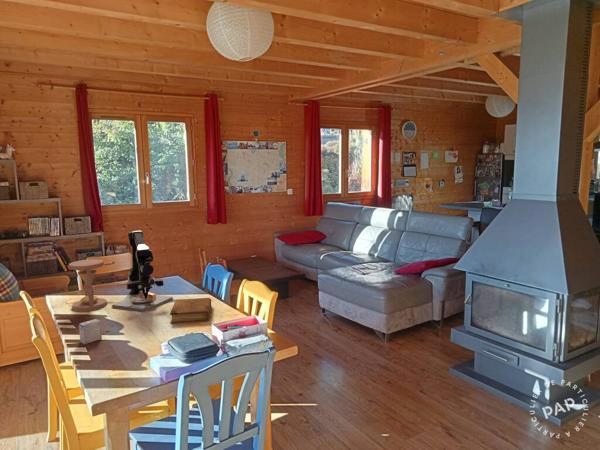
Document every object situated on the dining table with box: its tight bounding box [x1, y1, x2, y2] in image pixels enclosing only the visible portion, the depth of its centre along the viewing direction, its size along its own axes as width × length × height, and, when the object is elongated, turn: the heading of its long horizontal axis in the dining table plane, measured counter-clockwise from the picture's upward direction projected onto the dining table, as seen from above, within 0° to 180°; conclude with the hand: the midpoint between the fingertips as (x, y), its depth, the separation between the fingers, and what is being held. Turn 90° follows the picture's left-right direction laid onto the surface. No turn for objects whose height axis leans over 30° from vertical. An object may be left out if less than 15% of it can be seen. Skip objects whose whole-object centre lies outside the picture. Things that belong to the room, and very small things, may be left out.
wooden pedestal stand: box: [68, 258, 108, 312], centre depth 243 cm, size 18×18×25 cm
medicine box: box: [78, 318, 103, 345], centre depth 196 cm, size 8×4×9 cm, turn 141°
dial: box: [131, 290, 157, 304], centre depth 247 cm, size 17×12×5 cm
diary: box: [169, 297, 212, 325], centre depth 228 cm, size 23×19×6 cm
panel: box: [111, 293, 174, 313], centre depth 249 cm, size 23×23×2 cm
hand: (145, 299), depth 241 cm, fingers closed
